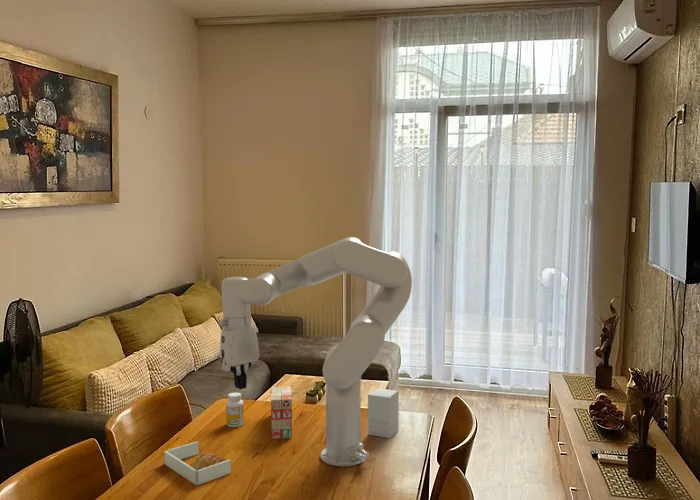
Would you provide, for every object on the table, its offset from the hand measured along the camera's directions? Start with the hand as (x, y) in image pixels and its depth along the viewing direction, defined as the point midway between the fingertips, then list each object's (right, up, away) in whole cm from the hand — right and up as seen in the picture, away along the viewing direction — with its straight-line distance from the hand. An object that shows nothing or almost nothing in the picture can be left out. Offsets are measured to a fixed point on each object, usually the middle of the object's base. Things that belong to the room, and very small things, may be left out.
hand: (240, 387), depth 174 cm
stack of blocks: (+9, -18, +24) cm, 31 cm away
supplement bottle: (-6, -17, +25) cm, 31 cm away
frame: (-11, -20, -7) cm, 24 cm away
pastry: (-7, -20, -6) cm, 22 cm away
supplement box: (+40, -18, +18) cm, 48 cm away
